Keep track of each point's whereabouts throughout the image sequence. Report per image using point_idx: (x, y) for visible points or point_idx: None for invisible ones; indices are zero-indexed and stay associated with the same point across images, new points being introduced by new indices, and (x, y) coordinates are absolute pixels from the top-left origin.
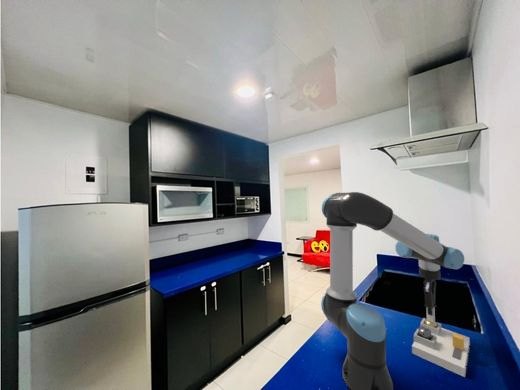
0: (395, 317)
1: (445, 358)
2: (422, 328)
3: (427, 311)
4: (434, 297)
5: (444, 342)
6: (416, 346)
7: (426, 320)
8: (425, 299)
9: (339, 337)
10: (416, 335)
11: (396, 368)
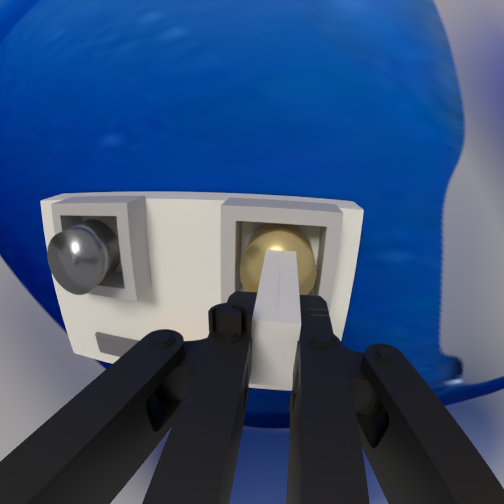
0: (365, 38)
1: (69, 311)
2: (71, 251)
3: (256, 296)
4: (370, 464)
5: (178, 314)
6: (48, 216)
7: (274, 245)
8: (72, 406)
9: (12, 5)
10: (57, 216)
11: None
